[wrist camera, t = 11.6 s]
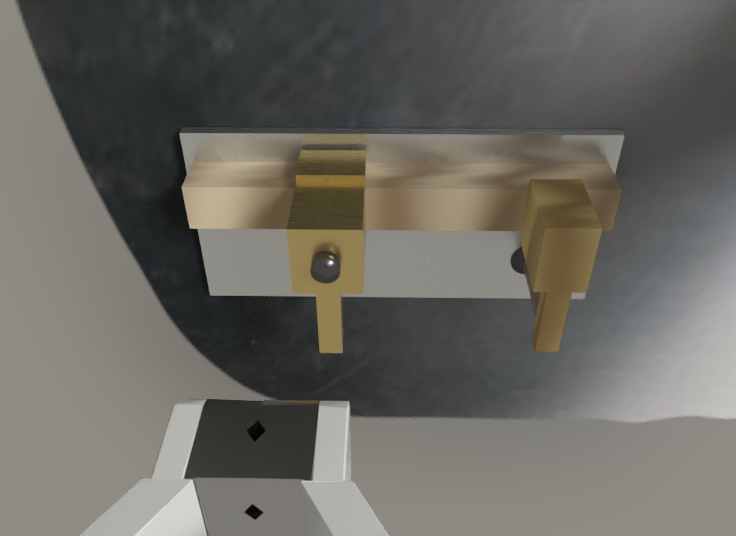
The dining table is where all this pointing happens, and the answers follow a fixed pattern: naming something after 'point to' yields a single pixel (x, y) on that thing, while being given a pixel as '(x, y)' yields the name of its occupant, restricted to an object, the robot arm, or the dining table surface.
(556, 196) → the trammel beam
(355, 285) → the sliding leg
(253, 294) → the flange plate
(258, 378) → the dining table surface
